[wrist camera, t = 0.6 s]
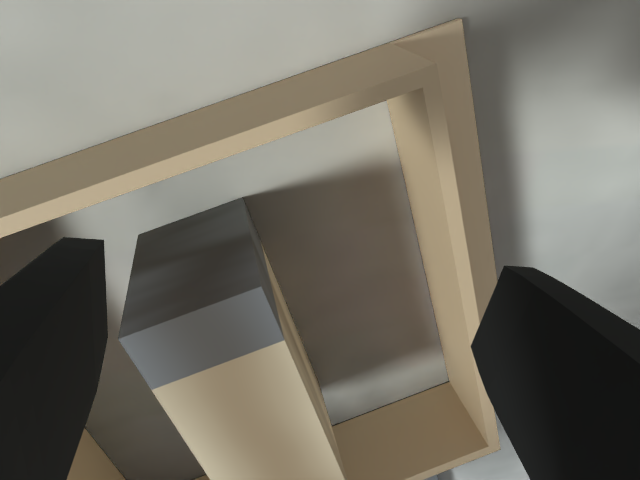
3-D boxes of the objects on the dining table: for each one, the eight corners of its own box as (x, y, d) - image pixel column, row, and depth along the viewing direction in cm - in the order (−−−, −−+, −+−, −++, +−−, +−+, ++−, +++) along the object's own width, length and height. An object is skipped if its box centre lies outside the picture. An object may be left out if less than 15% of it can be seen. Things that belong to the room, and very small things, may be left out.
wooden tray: (87, 527, 25) (70, 617, 22) (-179, 242, 17) (-275, 315, 13) (506, 367, 26) (553, 428, 23) (457, 18, 18) (522, 33, 14)
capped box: (236, 413, 24) (248, 538, 19) (138, 235, 19) (117, 339, 14) (318, 382, 24) (352, 498, 19) (242, 197, 19) (261, 286, 14)
